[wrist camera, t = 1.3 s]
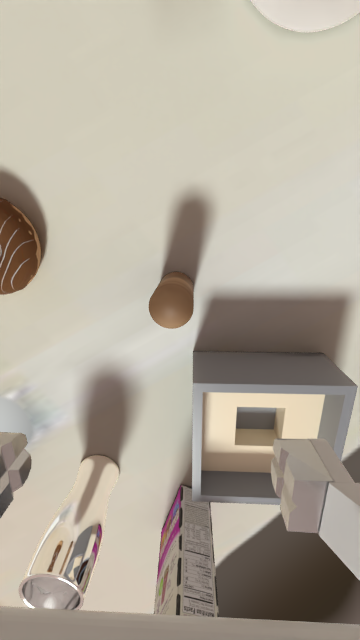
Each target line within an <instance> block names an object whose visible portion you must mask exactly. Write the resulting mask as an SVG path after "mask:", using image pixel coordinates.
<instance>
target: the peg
mask: <svg viewBox="0 0 360 640" xmlns="http://www.w3.org/2000/svg"><path fill="white" fill-rule="evenodd" d="M149 312H150V315H151V317H152V318H153V320H154V321H155V322H156V323H157V324H159V325H160V326H162V327H165V328H178V327H181V326H183V325H184V324H186V323H187V322H188V321H189V320H190V318H191V316H192V314H193V283H192V281H191V279H190V278H189V277H188V276H187V275H186V274H184V273H181V272H171V273H169V274H167V275H165V276H164V277H163V279H162V280H161V282H160V283H159V285H158V287H157V288H156V290H155V291H154V293H153V295H152V296H151V298H150V301H149Z"/></svg>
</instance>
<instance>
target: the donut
mask: <svg viewBox="0 0 360 640" xmlns="http://www.w3.org/2000/svg"><path fill="white" fill-rule="evenodd" d="M0 249H1V255H0V294H3V295H4V294H10V293H13V292H16V291H18V290H22V289H23V288H25V287H26V286H27V284H29V283H30V282H31V280H32V279H33V278H34V277H35V275H36V273H37V271H38V268H39V265H40V260H41V248H40V243H39V239H38V236H37V233H36V231H35V229H34V227H33V226H32V224H31V222H30V221H29V220H28V219H27V217H26V216H25V215H24V214H23V213H22V212H21V211H20V210H19V209H18V208H16V207H15V206H13V205H12V204H10V202H8V201H7V200H6V199H2V198H0Z"/></svg>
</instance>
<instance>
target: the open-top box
mask: <svg viewBox="0 0 360 640" xmlns="http://www.w3.org/2000/svg"><path fill="white" fill-rule="evenodd" d="M357 387H358V386H357V385H356V384H355V383H354V382H353V381H352V380H351V379H350V378H349V377H348V376H346V375H345V374H344V373H343V372H342V371H341V370H340V369H339V368H338V367H337V366H336V365H335V364H334V363H333V362H332V361H331V360H330V359H329V358H328V357H327V356H326V355H325V354H324V353H283V352H202V351H193V429H192V501H195V502H220V503H246V504H272V505H280V503H281V499H280V498H279V497H278V496H277V495H276V494H275V491H274V487H273V483H272V478H271V460H272V459H273V458H274V457H275V454H274V451H273V442H274V440H275V438H280V439H325V440H327V441H328V443H329V444H330V446H331V447H332V449H333V451H334V452H335V454H336V455H337V457H338V458H339V460H340V461H341V458H342V453H343V449H344V445H345V440H346V436H347V431H348V427H349V422H350V418H351V414H352V409H353V405H354V400H355V396H356V392H357Z"/></svg>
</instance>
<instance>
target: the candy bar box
mask: <svg viewBox="0 0 360 640" xmlns="http://www.w3.org/2000/svg"><path fill="white" fill-rule="evenodd" d="M154 614H163V615H182V616H202V617H219V616H218V600H217V587H216V574H215V562H214V550H213V537H212V522H211V509H210V502H195V501H192V488H191V487H187V486H183V485H181V486H180V489H179V491H178V494H177V496H176V498H175V501H174V503H173V506H172V508H171V511H170V513H169V515H168V518H167V520H166V522H165V525H164V527H163V529H162V532H161V543H160V553H159V565H158V575H157V586H156V598H155V607H154Z"/></svg>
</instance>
